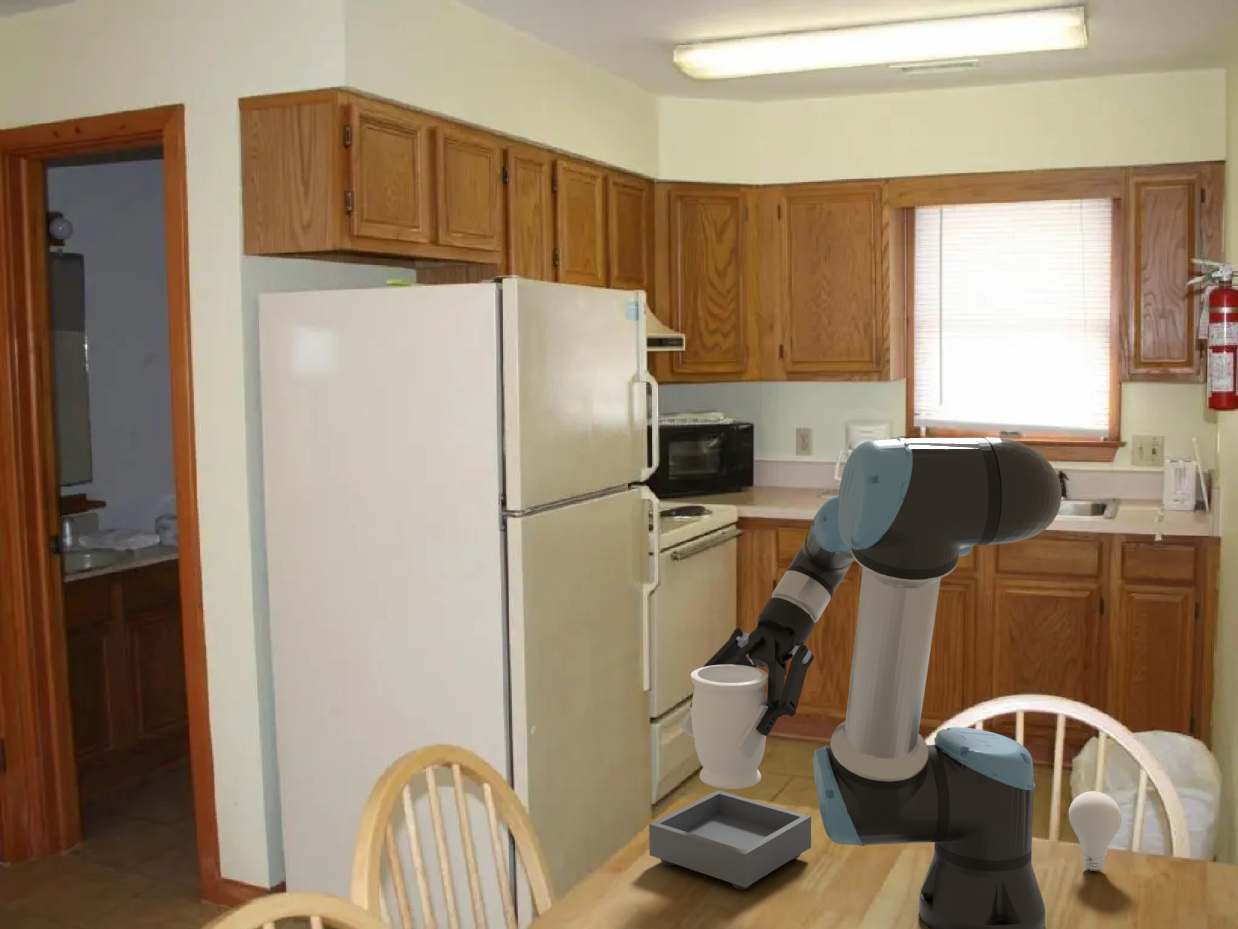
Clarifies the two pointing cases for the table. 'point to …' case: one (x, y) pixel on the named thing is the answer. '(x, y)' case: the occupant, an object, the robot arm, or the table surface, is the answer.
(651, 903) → the table surface
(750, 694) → the jar
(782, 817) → the footed square tray
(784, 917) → the table surface
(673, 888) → the table surface
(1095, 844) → the light bulb
